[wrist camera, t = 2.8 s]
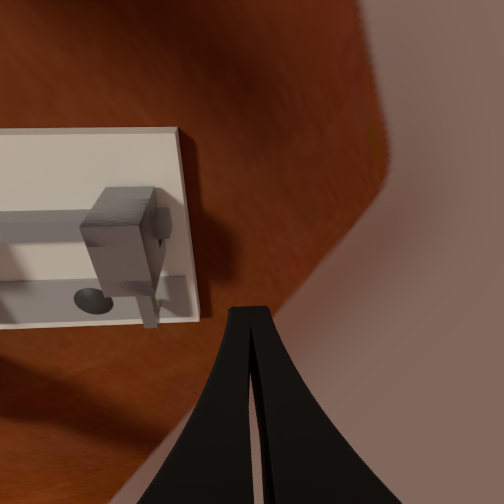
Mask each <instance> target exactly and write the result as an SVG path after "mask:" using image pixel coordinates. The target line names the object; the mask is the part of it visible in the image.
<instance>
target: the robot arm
mask: <svg viewBox="0 0 504 504" xmlns="http://www.w3.org/2000/svg"><path fill="white" fill-rule="evenodd" d="M250 374H251V381H252V388H253V394H254V402H255V409H256V416H257V423H258V430H259V438H260V449H261V464H262V482H263V498H264V504H402V503H401V502H400V500H399V499H398V498H397V497H396V496H395V495H394V494H393V493H392V492H391V491H390V490H389V489H388V488H387V487H386V486H385V485H384V484H383V482H381V480H380V479H379V478H378V477H377V476H376V475H375V474H374V473H373V472H372V470H371V469H370V468H369V467H368V466H367V465H366V464H365V462H364V461H363V460H362V459H361V458H360V457H359V456H358V454H357V453H356V452H355V451H354V450H353V448H352V447H351V446H350V445H349V443H348V442H347V441H346V440H345V438H344V437H343V436H342V435H341V433H340V432H339V431H338V430H337V428H336V427H335V426H334V425H333V423H332V422H331V421H330V419H329V418H328V417H327V415H326V414H325V412H324V411H323V410H322V408H321V407H320V405H319V404H318V402H317V401H316V399H315V398H314V397H313V395H312V394H311V392H310V390H309V389H308V388H307V386H306V384H305V383H304V381H303V379H302V378H301V376H300V374H299V373H298V371H297V369H296V367H295V366H294V364H293V362H292V360H291V358H290V356H289V354H288V353H287V351H286V349H285V347H284V345H283V343H282V341H281V338H280V336H279V334H278V332H277V330H276V327H275V325H274V322H273V319H272V316H271V314H270V310H269V308H268V307H267V306H245V307H231V308H230V309H229V311H228V319H227V324H226V329H225V333H224V336H223V340H222V343H221V346H220V349H219V352H218V355H217V358H216V361H215V363H214V366H213V368H212V371H211V373H210V375H209V378H208V380H207V383H206V385H205V387H204V390H203V392H202V394H201V396H200V398H199V400H198V402H197V404H196V406H195V408H194V410H193V412H192V415H191V416H190V418H189V420H188V422H187V424H186V426H185V427H184V429H183V431H182V433H181V435H180V437H179V438H178V440H177V442H176V444H175V445H174V447H173V449H172V450H171V452H170V453H169V455H168V457H167V458H166V460H165V461H164V463H163V465H162V467H161V468H160V470H159V471H158V473H157V474H156V476H155V478H154V479H153V481H152V482H151V484H150V485H149V487H148V488H147V489H146V491H145V492H144V494H143V495H142V497H141V498H140V500H139V501H138V502H137V504H254V493H253V478H252V461H251V445H250V444H251V443H250V425H249V385H250V384H249V383H250Z"/></svg>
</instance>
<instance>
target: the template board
mask: <svg viewBox="0 0 504 504" xmlns="http://www.w3.org/2000/svg"><path fill="white" fill-rule="evenodd" d="M135 186H155V191H156V197H157V202H158V205H157V208H156V211H155V213H154V216H153V218H154V223H155V228H156V233H157V238H158V239H164V240H165V246H166V254H165V258H164V262H163V266H162V270H161V274H160V278H159V282H158V286H157V290H156V294H155V298H156V300H158V301H160V302H161V309H160V314H159V315H160V321H159V323H172V322H197V321H200V304H199V296H198V288H197V280H196V272H195V264H194V256H193V248H192V239H191V231H190V223H189V215H188V207H187V199H186V191H185V183H184V175H183V167H182V159H181V151H180V143H179V135H178V127H119V128H12V129H0V329H20V328H45V327H70V326H96V325H121V324H143V321H142V318H141V314H140V311H139V307H138V304H137V300H136V297H135V296H131V297H104V295H103V292H102V289H101V286H100V284H99V281H98V278H97V275H96V273H95V270H94V267H93V264H92V262H91V259H90V256H89V253H88V251H87V248H86V245H85V242H84V240H83V237H82V234H81V231H80V229H79V227H80V225H81V224H82V222H83V221H84V219H85V218H86V216H87V214H88V213H89V211H90V210H91V208H92V207H93V205H94V204H95V202H96V201H97V199H98V198H99V196H100V195H101V193H102V192H103V190H104V189H105V187H135Z"/></svg>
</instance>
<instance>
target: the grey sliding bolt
mask: <svg viewBox="0 0 504 504" xmlns="http://www.w3.org/2000/svg"><path fill="white" fill-rule="evenodd" d="M157 205H158V202H157V197H156V191H155V186H135V187H105V189H104V190H103V192H102V193H101V195H100V196H99V198H98V199H97V201H96V202H95V204H94V205H93V207H92V208H91V210H90V211H89V213H88V214H87V216H86V218H85V219H84V221H83V222H82V224H81V225H80V227H79V229H80V231H81V234H82V237H83V240H84V242H85V245H86V248H87V251H88V253H89V256H90V259H91V262H92V264H93V267H94V270H95V273H96V275H97V278H98V281H99V284H100V286H101V289H102V292H103V295H104V297H131V296H135V297H136V300H137V304H138V307H139V311H140V314H141V318H142V321H143V325H144V328H158V325H159V321H160V315H159V314H160V309H161V302H160V301H158V300H156V298H155V294H156V290H157V286H158V282H159V278H160V274H161V270H162V266H163V262H164V258H165V254H166V246H165V240H164V239H158V238H157V233H156V228H155V223H154V218H153V216H154V213H155V211H156V208H157Z"/></svg>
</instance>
